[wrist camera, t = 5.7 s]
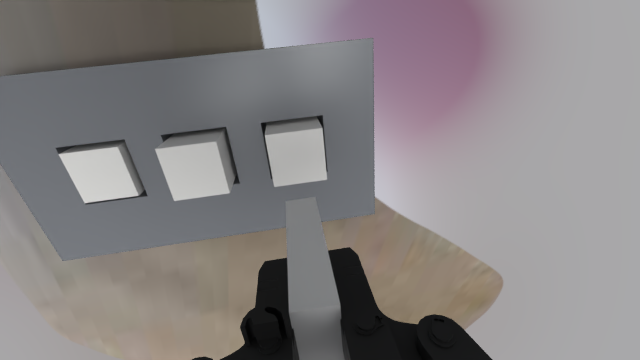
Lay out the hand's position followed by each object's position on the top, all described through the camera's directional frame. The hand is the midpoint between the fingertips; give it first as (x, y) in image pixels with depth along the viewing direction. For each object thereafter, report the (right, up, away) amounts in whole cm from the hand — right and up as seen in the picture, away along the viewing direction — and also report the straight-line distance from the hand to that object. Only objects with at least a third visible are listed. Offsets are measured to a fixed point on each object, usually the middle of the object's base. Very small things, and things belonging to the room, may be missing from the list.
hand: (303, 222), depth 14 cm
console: (-10, +6, +14) cm, 18 cm away
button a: (-17, +4, +12) cm, 22 cm away
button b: (-9, +5, +11) cm, 15 cm away
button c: (-1, +6, +12) cm, 13 cm away
